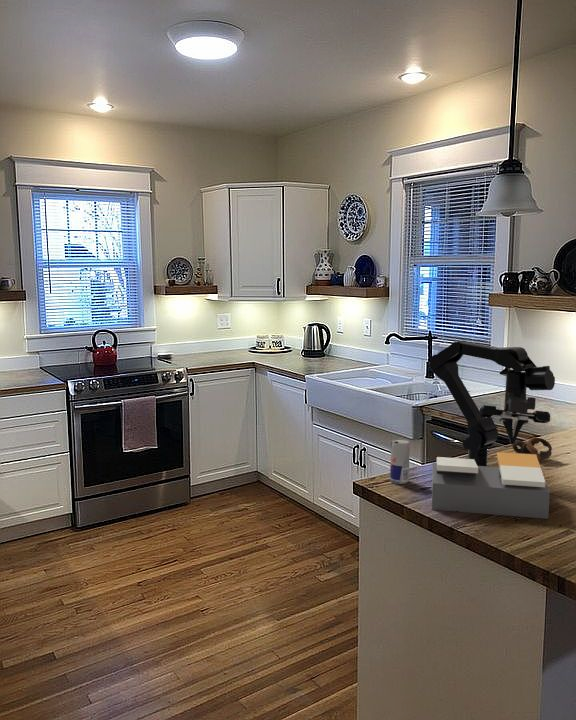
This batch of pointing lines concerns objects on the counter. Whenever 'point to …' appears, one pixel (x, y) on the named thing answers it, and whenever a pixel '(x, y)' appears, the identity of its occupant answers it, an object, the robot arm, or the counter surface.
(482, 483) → the switch strip
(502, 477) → the orange and white panel
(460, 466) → the rocker plain
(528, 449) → the brown chain link decor
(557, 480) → the counter surface
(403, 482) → the energy drink
